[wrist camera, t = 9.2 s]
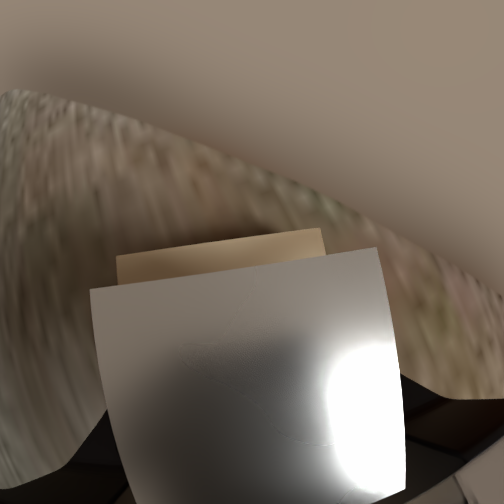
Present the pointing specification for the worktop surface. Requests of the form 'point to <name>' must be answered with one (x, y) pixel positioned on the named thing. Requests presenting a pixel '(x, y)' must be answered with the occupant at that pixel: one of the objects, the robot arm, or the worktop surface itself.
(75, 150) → the worktop surface
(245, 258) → the socket block
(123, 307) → the square bit
